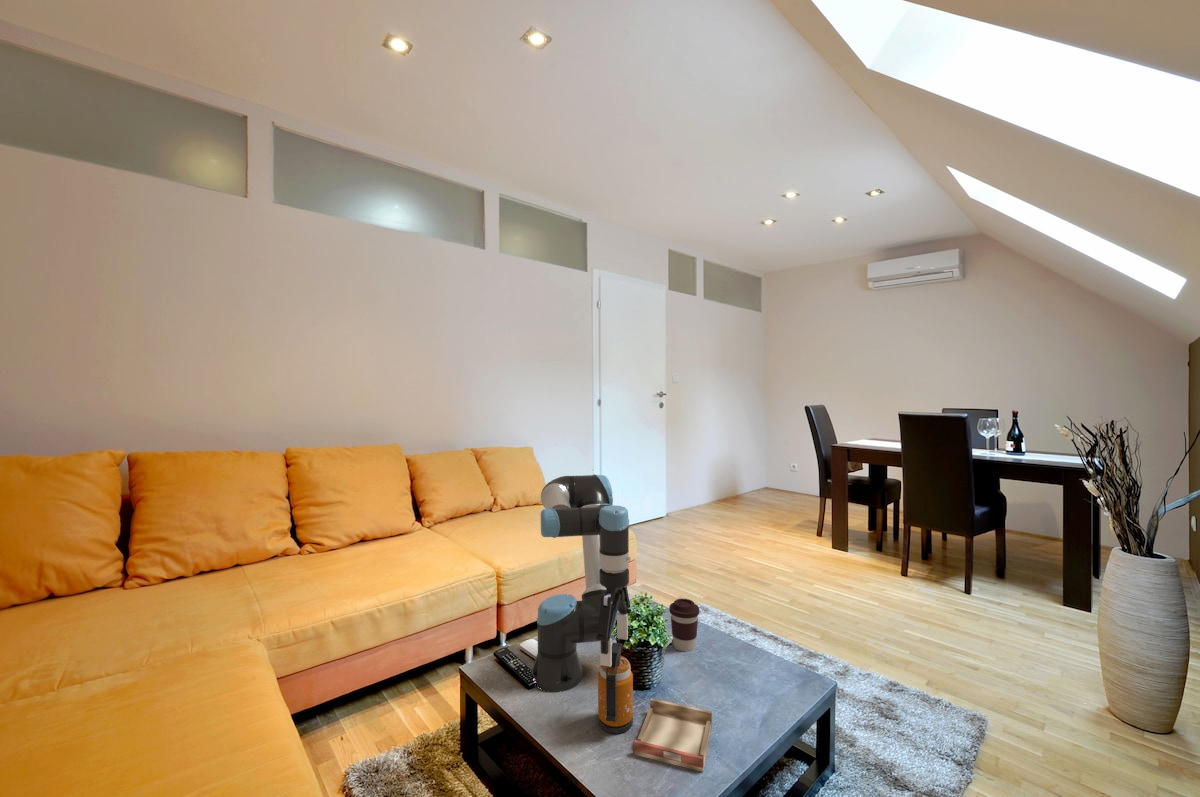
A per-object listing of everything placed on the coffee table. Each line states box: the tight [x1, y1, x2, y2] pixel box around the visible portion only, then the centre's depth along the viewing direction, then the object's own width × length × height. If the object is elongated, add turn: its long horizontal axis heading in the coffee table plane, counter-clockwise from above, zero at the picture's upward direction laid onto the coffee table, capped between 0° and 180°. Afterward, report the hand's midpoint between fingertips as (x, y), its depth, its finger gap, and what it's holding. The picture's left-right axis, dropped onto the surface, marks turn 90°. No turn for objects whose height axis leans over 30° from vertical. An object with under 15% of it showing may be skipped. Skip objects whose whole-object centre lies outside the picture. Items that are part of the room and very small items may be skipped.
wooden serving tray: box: [633, 698, 713, 773], centre depth 118 cm, size 16×16×4 cm
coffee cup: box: [668, 598, 700, 653], centre depth 162 cm, size 10×10×15 cm
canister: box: [597, 642, 634, 734], centre depth 124 cm, size 9×11×20 cm
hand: (614, 651), depth 123 cm, fingers open, 13 cm apart
